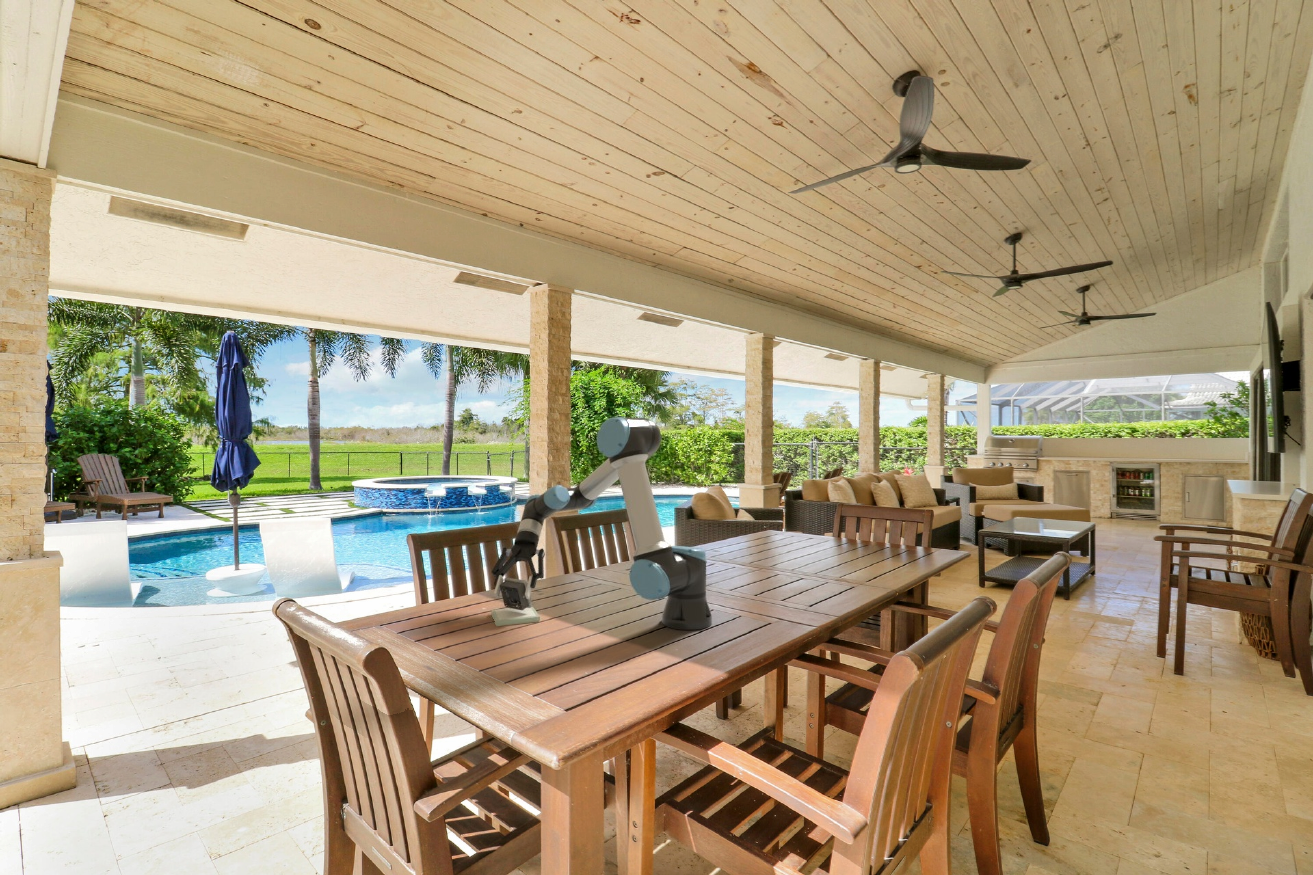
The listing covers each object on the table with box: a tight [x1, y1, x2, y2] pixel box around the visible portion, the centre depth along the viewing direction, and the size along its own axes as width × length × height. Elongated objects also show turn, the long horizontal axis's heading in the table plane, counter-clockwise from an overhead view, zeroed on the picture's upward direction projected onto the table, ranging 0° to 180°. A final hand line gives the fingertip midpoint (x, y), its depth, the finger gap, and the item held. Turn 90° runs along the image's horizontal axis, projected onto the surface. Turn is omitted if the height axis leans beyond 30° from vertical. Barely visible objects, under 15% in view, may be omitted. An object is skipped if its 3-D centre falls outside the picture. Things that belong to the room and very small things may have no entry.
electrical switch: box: [500, 577, 533, 610], centre depth 194 cm, size 9×5×9 cm, turn 58°
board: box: [490, 605, 541, 627], centre depth 194 cm, size 13×13×2 cm
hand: (511, 596), depth 191 cm, fingers closed on electrical switch, 9 cm apart
